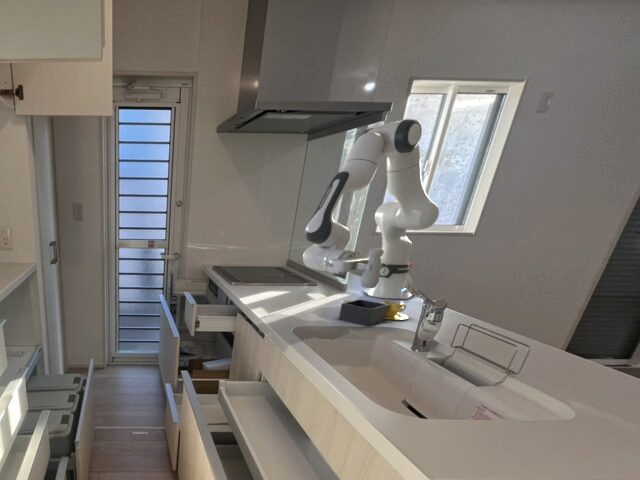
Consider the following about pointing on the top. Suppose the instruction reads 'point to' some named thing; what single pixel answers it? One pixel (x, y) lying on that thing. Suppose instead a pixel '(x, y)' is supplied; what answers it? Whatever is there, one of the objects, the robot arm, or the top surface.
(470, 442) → the top surface
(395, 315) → the cup
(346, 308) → the dark grey open box
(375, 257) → the salt shaker
